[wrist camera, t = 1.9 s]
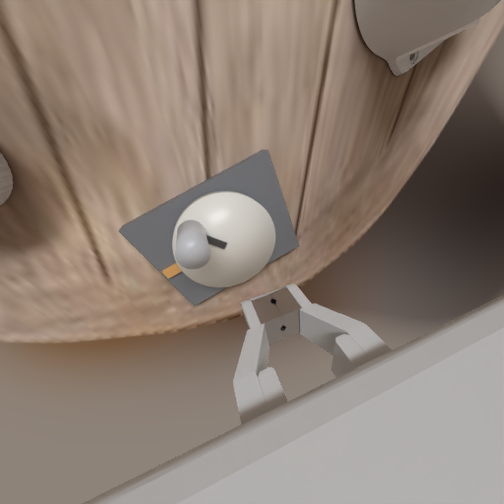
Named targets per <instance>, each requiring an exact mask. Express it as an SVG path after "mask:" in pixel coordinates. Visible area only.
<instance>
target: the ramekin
mask: <svg viewBox="0 0 504 504" xmlns="http://www.w3.org/2000/svg"><path fill="white" fill-rule="evenodd" d="M12 189H13V176H12V174H11V169H10V168H9V166H8V163H7V161H6V160H5V159H4V157H3V155H2V154H1V153H0V205H2V204H3V203H4V202H5V201H6V200H7V199H8V198H9V195H10V194H11V191H12Z"/></svg>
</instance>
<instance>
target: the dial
mask: <svg viewBox="0 0 504 504" xmlns="http://www.w3.org/2000/svg"><path fill="white" fill-rule="evenodd" d="M275 241H276V233H275V227H274V223H273V221H272V218H271V217H270V215H269V213H268V212H267V211H266V210H265V208H264V207H263V206H261V205H260V204H259V203H258V202H256V201H255V200H254V199H252V198H251V197H249V196H247V195H245V194H242V193H239V192H235V191H215V192H211V193H208V194H205V195H203V196H201V197H199V198H197V199H195V200H194V201H193V202H191V203H190V204H189V205H188V206H187V207H186V208H185V209H184V210H183V212H182V213H181V214H180V216H179V218H178V220H177V222H176V225H175V228H174V233H173V240H172V248H173V254H174V258H175V261H176V263H177V265H178V266H179V268H180V269H181V271H182V272H183V273H184V274H185V275H186V276H188V277H189V278H190V279H192V280H193V281H195V282H197V283H199V284H202V285H205V286H209V287H218V288H221V287H231V286H235V285H238V284H241V283H243V282H245V281H247V280H249V279H251V278H252V277H254V276H255V275H256V274H258V273H259V272H260V271H261V270H262V269H263V268H264V266H265V265H266V264H267V262H268V261H269V259H270V257H271V255H272V253H273V250H274V247H275Z"/></svg>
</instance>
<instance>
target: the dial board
mask: <svg viewBox="0 0 504 504" xmlns="http://www.w3.org/2000/svg"><path fill="white" fill-rule="evenodd" d="M215 191H235V192H239V193H242V194H245V195H247V196H249V197H251V198H252V199H254V200H255V201H256V202H258V203H259V204H260V205H261V206H263V207H264V208H265V210H266V211H267V212H268V213H269V215H270V217H271V218H272V221H273V223H274V227H275V233H276V241H275V247H274V250H273V253H272V255H271V257H270V259H269V261H268V262H267V264H269V263H270V262H272V261H274V260H275V259H277V258H279V257H281V256H282V255H284V254H286V253H288V252H289V251H291V250H293V249H295V248H296V247H298V246H299V244H298V241H297V238H296V235H295V232H294V229H293V226H292V223H291V220H290V216H289V213H288V210H287V207H286V204H285V201H284V198H283V195H282V192H281V189H280V186H279V182H278V179H277V176H276V173H275V170H274V167H273V164H272V161H271V158H270V155H269V151H268V150H261V151H259V152H258V153H256V154H254V155H252V156H250V157H248V158H246V159H245V160H243V161H241V162H239V163H237V164H235V165H234V166H232V167H230V168H228V169H226V170H224V171H223V172H221V173H219V174H217V175H215V176H213V177H211V178H210V179H208V180H206V181H204V182H202V183H200V184H199V185H197V186H195V187H193V188H191V189H189V190H188V191H186V192H184V193H182V194H180V195H178V196H176V197H175V198H173V199H171V200H169V201H167V202H165V203H164V204H162V205H160V206H158V207H156V208H154V209H153V210H151V211H149V212H147V213H145V214H143V215H141V216H140V217H138V218H136V219H134V220H132V221H130V222H129V223H127V224H125V225H123V226H122V227H121V229H120V230H119V232H120V233H121V234H122V235H123V236H124V237H125V238H126V239H127V240H128V241H129V242H130V243H131V244H132V245H133V246H134V247H135V248H136V249H137V250H138V251H139V252H140V253H141V254H142V255H143V256H144V257H145V258H146V259H147V260H148V261H149V262H150V263H151V264H152V265H153V266H154V267H155V268H156V269H157V270H158V271H159V272H160V273H161V274H162V275H163V276H164V277H165V278H166V279H167V280H168V281H169V282H170V283H171V284H172V285H173V286H174V287H175V288H176V289H177V290H178V291H179V292H180V293H181V294H182V295H183V296H184V297H185V298H186V299H187V300H188V301H190V302H191V303H192V304H193V305H194V306H195V305H197V304H199V303H201V302H202V301H204V300H206V299H208V298H209V297H211V296H213V295H214V294H216V293H218V292H220V291H221V290H223V289H225V288H227V287H221V288H218V287H209V286H205V285H202V284H199V283H197V282H195V281H193V280H192V279H190V278H189V277H188V276H186V275H185V274H184V273H183V272H182V271H181V269H180V268H179V266H178V265H177V263H176V261H175V258H174V254H173V248H172V240H173V233H174V228H175V225H176V222H177V220H178V218H179V216H180V214H181V213H182V212H183V210H184V209H185V208H186V207H187V206H188V205H189V204H190V203H191V202H193V201H194V200H195V199H197V198H199V197H201V196H203V195H205V194H208V193H211V192H215ZM267 264H266V265H267Z"/></svg>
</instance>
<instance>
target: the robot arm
mask: <svg viewBox="0 0 504 504" xmlns="http://www.w3.org/2000/svg"><path fill="white" fill-rule="evenodd" d="M500 1H501V0H355V10H356V16H357V21H358V25H359V29H360V32H361V34H362V37H363V39H364V41H365V43H366V44H367V46H368V47H369V48H370V50H371V51H372V52H373V53H375V54H376V55H378V56H380V57H382V58H383V59H385V60H386V61H387V62H388V64H389V66H390V68H391V70H392V72H393V73H394V75H396V76H399V75H401V74H403V73H405V72H407V71H408V70H410V69H411V68H412V67H413V66H414V65H416V64H417V63H418V62H419V61H420V60H422V59H423V58H424V57H425V56H426V55H428V54H429V53H430V52H431V51H432V50H434V49H435V48H436V47H437V46H438V45H440V44H441V43H442V42H443V41H444V40H446V39H447V38H448V37H451V36H453V35H455V34H457V33H459V32H462V31H464V30H466V29H468V28H470V27H472V26H474V25H475V24H477V23H478V21H479V19H480V18H481V17H482V16H483V15H485V14H486V13H487V12H489V11H490V10H491V9H492V8H493V7H494V6H495V5H496V4H497V3H499V2H500ZM241 306H242V310H243V313H244V317H245V320H246V323H247V326H248V329H249V330H247V333H246V337H245V340H244V344H243V348H242V351H241V355H240V358H239V362H238V366H237V370H236V373H235V377H234V381H233V384H234V390H235V394H236V399H237V404H238V409H239V414H240V419H241V424H242V425H240V426H238V427H236V428H234V429H232V430H230V431H228V432H226V433H224V434H222V435H220V436H218V437H216V438H214V439H212V440H210V441H207V442H206V443H203V444H201V445H199V446H198V447H196V448H193V449H191V450H189V451H187V452H185V453H183V454H181V455H179V456H177V457H175V458H174V459H171V460H169V461H167V462H165V463H163V464H161V465H159V466H157V467H155V468H153V469H151V470H149V471H147V472H145V473H143V474H141V475H139V476H137V477H135V478H133V479H131V480H129V481H127V482H125V483H123V484H121V485H118V486H116V487H114V488H113V489H111V490H108V491H106V492H104V493H102V494H100V495H98V496H96V497H94V498H93V499H90V500H88V501H86V502H84V503H82V504H504V295H503V296H501V297H499V298H497V299H495V300H493V301H491V302H489V303H487V304H485V305H483V306H481V307H479V308H477V309H475V310H473V311H471V312H469V313H467V314H465V315H463V316H461V317H458V318H456V319H454V320H453V321H450V322H448V323H446V324H444V325H442V326H440V327H438V328H436V329H434V330H432V331H430V332H428V333H426V334H424V335H422V336H420V337H418V338H416V339H414V340H412V341H410V342H408V343H406V344H404V345H402V346H400V347H398V348H396V349H394V350H391V349H390V348H389V347H388V346H387V345H386V344H385V343H384V342H383V341H382V340H381V339H380V338H379V337H378V336H377V335H376V334H375V333H374V332H373V331H372V330H371V329H370V328H369V327H368V326H367V325H366V324H364V323H362V322H360V321H357V320H355V319H352V318H350V317H347V316H344V315H342V314H340V313H337V312H335V311H332V310H330V309H328V308H325V307H323V306H320V305H318V304H311V302H310V301H309V300H308V299H307V297H306V296H305V295H304V294H303V293H302V291H301V290H300V289H299V288H298V287H297V285H296V284H294V283H292V284H290V285H287V286H285V287H282V288H279V289H276V290H274V291H271V292H269V293H266V294H264V295H261V296H258V297H255V298H252V299H249V300H246V301H243V302H241ZM299 333H300V334H301V335H303V336H304V337H306V338H307V339H309V340H310V341H312V342H314V343H315V344H317V345H318V346H320V347H321V348H323V349H324V350H326V351H327V352H329V353H330V354H332V355H333V361H332V368H331V370H332V371H333V373H334V375H335V376H336V378H335V379H333V380H331V381H329V382H327V383H325V384H323V385H321V386H319V387H317V388H315V389H313V390H311V391H309V392H307V393H305V394H303V395H301V396H299V397H296V398H295V399H293V400H290V401H287V399H286V396H285V394H284V392H283V389H282V387H281V384H280V382H279V379H278V377H277V375H276V372H275V370H274V369H273V368H270V367H269V368H267V366H268V357H269V348H270V347H269V346H270V345H273V344H275V343H277V342H279V341H282V340H284V339H286V338H289V337H291V336H294V335H297V334H299Z"/></svg>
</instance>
